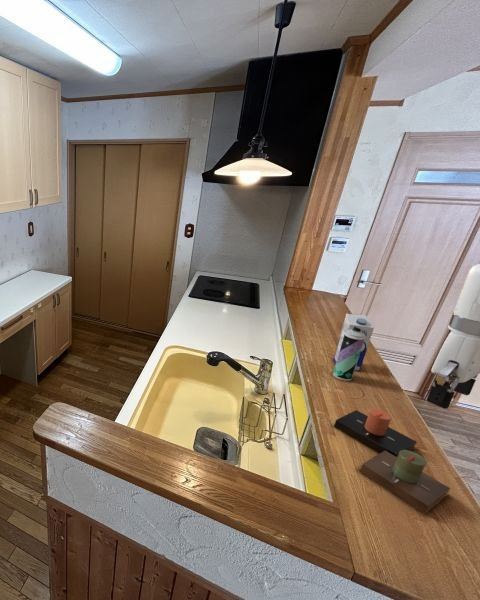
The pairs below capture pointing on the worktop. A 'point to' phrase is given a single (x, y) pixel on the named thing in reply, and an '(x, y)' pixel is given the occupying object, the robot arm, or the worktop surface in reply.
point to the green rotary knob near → (408, 466)
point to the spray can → (349, 354)
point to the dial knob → (377, 422)
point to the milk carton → (366, 328)
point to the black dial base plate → (373, 435)
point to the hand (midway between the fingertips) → (447, 398)
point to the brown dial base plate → (405, 483)
